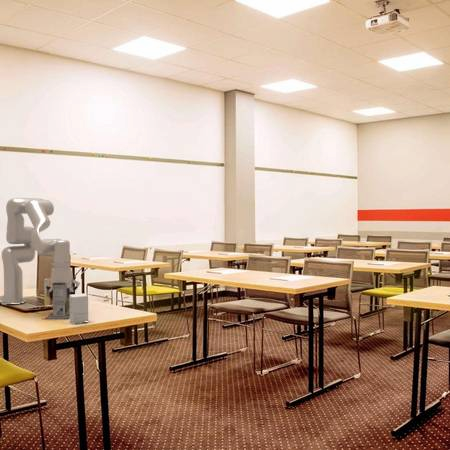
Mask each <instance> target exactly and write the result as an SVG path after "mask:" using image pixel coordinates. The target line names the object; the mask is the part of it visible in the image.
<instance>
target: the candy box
mask: <svg viewBox="0 0 450 450" xmlns="http://www.w3.org/2000/svg"><path fill="white" fill-rule="evenodd" d="M49 280H51V277H49V278H44V279H43V285H44V283H45V282H47V281H49ZM48 285H49V287H50V288H51V286H50V283H49V284H48ZM43 288H44V289H43V292H44V294H43V297H44V299H43V301H44V303H43V306H44V305H52V304H53V300H51V298H50V292H49V291H48V290H47V289H46V287H45V285H44V286H43Z"/></svg>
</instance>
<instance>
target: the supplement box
mask: <svg viewBox="0 0 450 450" xmlns="http://www.w3.org/2000/svg"><path fill="white" fill-rule="evenodd" d="M69 302H70V318H69V322H70V321H71V322H72V323H77V324H79V323H78V322H85V321H88V322H89V296H88V295H87V294H86V293H76V294H75V293H74V294H73V295H69ZM71 322H70V323H71ZM72 323H71V324H72Z"/></svg>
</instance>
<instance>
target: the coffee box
mask: <svg viewBox="0 0 450 450" xmlns="http://www.w3.org/2000/svg"><path fill="white" fill-rule="evenodd" d="M70 292H71V290H70V289H69V288H66V283H53V307H52V312H53V316H66V315H67V314H69V313H70V302H69V295H70Z"/></svg>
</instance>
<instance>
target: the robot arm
mask: <svg viewBox="0 0 450 450" xmlns="http://www.w3.org/2000/svg"><path fill="white" fill-rule="evenodd" d="M53 204H54V203H53V202H51V201H50V200H49V199H44V198H43V199H42V198H38V197H37V198H36V197H34V198H33V197H32V198H31V197H15V198H10V199H9V200H8V201H7V202H6V207H5V209H6V216H7V222H6V223H7V224H6V235H5V236H6V238H5V240H6V243H8V244H10V246H7V247H5V248H3V249H2V251H1V259H2V266H3V267H2V268H3V294H2V295H0V301H1V302H0V304H1V305H4V306H7V305H6V304H11V303H22V302H26V303H27V301H26V299H24V298H23V291H24V289H23V288H24V285H23V283H24V282H23V269H22V267H21V266H20V265H19V264H23V263H30V262H33V261H34V260H35V256H36V253H37V254H39V255H53V262H51V263H50V266H52V268H51V272H50V273H51V274H50V278H51V280H49V281H47V282H45V283H44V282H43V285H45V287H46V289H47V290H48V291H49V292H50V298H51V300H53V283H66V288H69V289H70V290H71V292H70V295H73V294H75V292H76V290H77V289H78V288H79V287H80V284H81V283H80V282H79V281H77V280H76V279H74V276H73V271H72V267H71V259H70V258H71V251H70V250H71V247H70V246H71V245H70V241H69V240H68V239H61V238H46V239H45V238H44V239H43V238H42V237H41V235H40V233H41V232H43V231H45V230H47V229H48V228H49V227H50V226H51V220H50V218H49V217H50V216H52V215H53V214H54V211H55V207H54V205H53ZM23 215H27V216H28V218H29V220H30V222H31V224H32V226H25V217H24V216H23ZM49 283H50V286H51V288H50V287H49V285H48V284H49ZM74 284H75V286H74Z"/></svg>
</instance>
